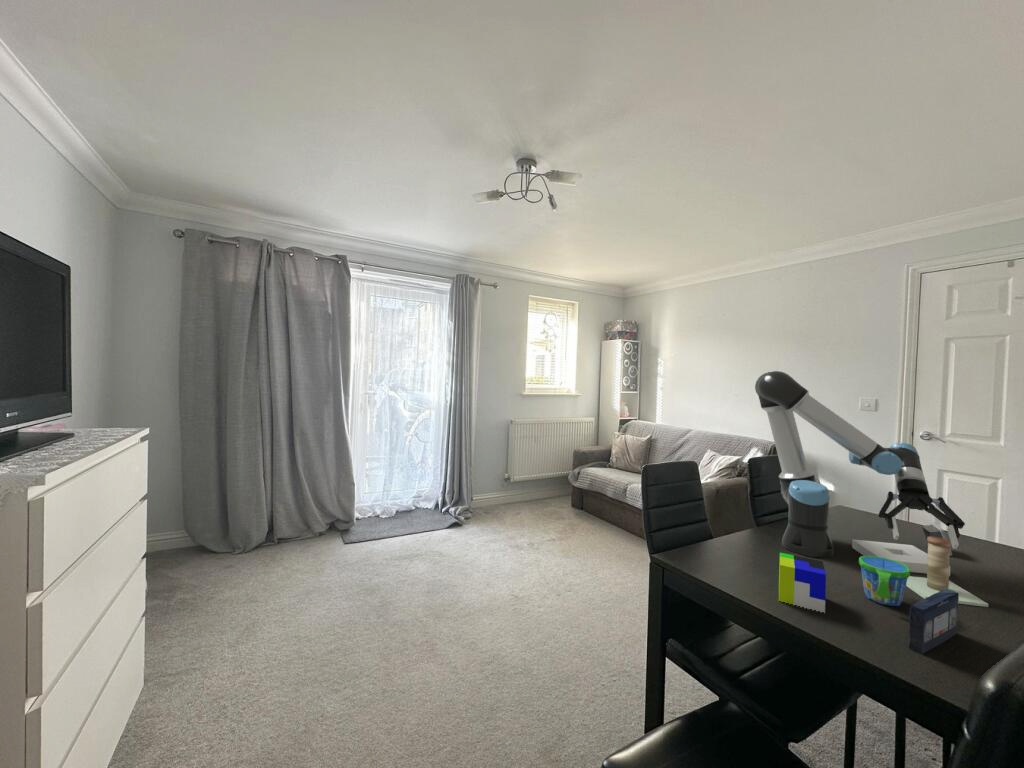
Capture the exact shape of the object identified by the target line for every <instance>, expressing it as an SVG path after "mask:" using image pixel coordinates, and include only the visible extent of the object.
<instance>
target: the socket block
mask: <svg viewBox="0 0 1024 768" xmlns="http://www.w3.org/2000/svg"><path fill="white" fill-rule="evenodd" d="M851 541H852V542H851V549H854V550H855V551H856V552H858V553H859V554H861V556H877V557H882V558H887V559H890V560H894V561H897V562H899V563H902V564H904V565H905V566H907V567H908V568H909V569H910V573H918V574H926V575H927V564H928V552H925V551H923V550H922V549H919V548H918V547H916V546H915V545H912V544H903V543H895V542H883V541H874V540H863V539H852V540H851ZM949 577H951V566H950V565H949Z"/></svg>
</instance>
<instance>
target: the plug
mask: <svg viewBox="0 0 1024 768" xmlns="http://www.w3.org/2000/svg"><path fill="white" fill-rule="evenodd" d="M926 542H928V543H927V554H928V564H927V574H926V578H927V586H928V587H929V588H932V589H934V590H938V591H942V590H944V589H948V590H949V581H950V576H949V566H950V549H951V547H952V545H951V541H950V539H943V538H939V537H932V536H929V537H927V540H926Z"/></svg>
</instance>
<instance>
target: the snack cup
mask: <svg viewBox="0 0 1024 768" xmlns="http://www.w3.org/2000/svg"><path fill="white" fill-rule="evenodd" d="M858 564H859V566H860V569H861V571H860V572H861V577H862V578H861V579H862V584H863V591H864V594H865V596H866V597H867V599H869V600H872V601H873V602H875V603H878V604H880V605H886V606H889V607H890V606H891V607H895V606H896V607H899V606H901V604H902V602H903V599H904V594H905V590H906V588H907V586H906V583H907V578H908V577H909V576H911V572H910V569H909V568H908V567H907V566H905V565H904V564H902V563H899V562H897V561H894V560H890V559H887V558H882V557H877V556H863V555H861V556H860V557H859V558H858Z"/></svg>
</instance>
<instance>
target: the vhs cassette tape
mask: <svg viewBox="0 0 1024 768" xmlns="http://www.w3.org/2000/svg"><path fill="white" fill-rule="evenodd" d="M958 599H959V594H958V593H957V592H954V591H951V590H948V589H944V590H942V591H939V592H938V593H935V594H933V595H931V596H930V597H927V598H925V599H924V598H922V599H921V600H919V601H917V602H915V603H913V604H911V605H910V606H909V624H908V625H909V629H908V646H907V647H908V649H909V650H911V651H913V652H916V653H919V654H921V655H924V654H926V653H927V652H928V651H930V650H932V649H934V648H936V647H938V646H939V645H941V644H943V643H945V642H947V641H948V640H949V639H951V638H952V636H953V637H955V636H956V635H957V634H958V619H959V618H958V616H959V614H958V613H959V603H958Z"/></svg>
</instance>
